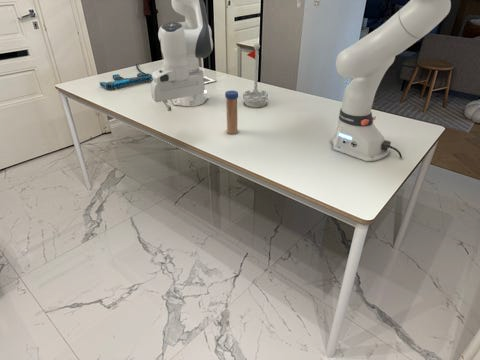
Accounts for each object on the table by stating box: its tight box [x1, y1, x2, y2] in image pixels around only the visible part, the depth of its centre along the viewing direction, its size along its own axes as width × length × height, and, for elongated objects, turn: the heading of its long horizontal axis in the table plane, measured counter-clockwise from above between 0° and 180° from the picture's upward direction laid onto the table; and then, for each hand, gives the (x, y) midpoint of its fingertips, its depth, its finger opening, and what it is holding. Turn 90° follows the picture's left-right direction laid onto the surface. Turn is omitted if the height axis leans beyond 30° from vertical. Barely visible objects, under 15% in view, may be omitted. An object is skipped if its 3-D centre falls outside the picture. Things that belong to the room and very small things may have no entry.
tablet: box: [203, 75, 217, 85], centre depth 215 cm, size 32×20×1 cm, turn 41°
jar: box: [225, 97, 238, 135], centre depth 144 cm, size 5×5×17 cm
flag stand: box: [242, 42, 269, 108], centre depth 170 cm, size 13×13×30 cm
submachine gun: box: [99, 72, 154, 90], centre depth 210 cm, size 34×4×25 cm
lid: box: [224, 90, 239, 99], centre depth 140 cm, size 5×5×2 cm
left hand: (180, 108), depth 131 cm, fingers open, 8 cm apart
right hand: (308, 6), depth 134 cm, fingers open, 8 cm apart
